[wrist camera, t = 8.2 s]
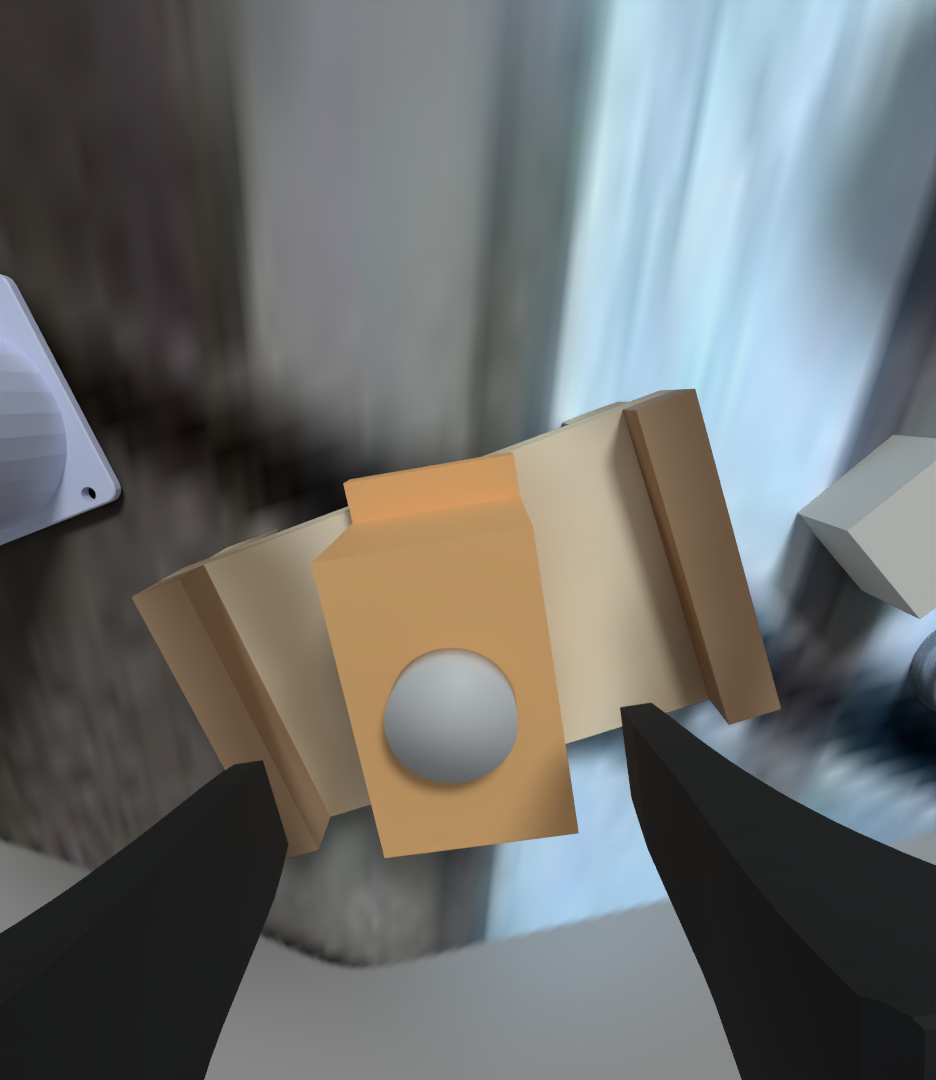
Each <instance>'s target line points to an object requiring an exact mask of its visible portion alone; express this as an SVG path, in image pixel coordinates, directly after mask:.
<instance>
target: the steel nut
mask: <svg viewBox="0 0 936 1080" xmlns="http://www.w3.org/2000/svg"><path fill="white" fill-rule="evenodd" d="M910 681H911V686H912V688H913V691H914V693H915V694H916V696H917V697H918V698H919V700H920V701H921V702H922V703H924V704H925V705H926V706H928V707H929V708H931V709H932V710H933V711H935V712H936V631H934V632H933V633H932V634H930V635H929V636H928V637H927V638H926V639H925V640H924V641H923V643H922V644H921V645H920V647H919V648H918V650H917V651H916V653H915V655H914V658H913V660H912V663H911V668H910Z"/></svg>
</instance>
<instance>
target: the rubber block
mask: <svg viewBox="0 0 936 1080" xmlns="http://www.w3.org/2000/svg"><path fill="white" fill-rule="evenodd" d="M797 514H798V515H799V516H800V517H801V519H802V520H803V521H804V522H805V523H806V525H807V526H808V527H809V528H810V529H811V531H812V532H813V533H814V534H815V535H816V536H817V538H818V539H819V540H820V541H821V542H822V544H823V545H824V546H825V547H826V548H827V550H828V551H829V552H830V553H831V554H832V556H833V557H834V558H835V559H836V560H837V562H838V563H839V564H840V565H841V566H842V568H843V569H844V570H845V571H846V572H847V574H848V575H849V576H850V577H851V578H852V580H853V581H854V582H855V583H856V584H857V586H858V587H859V588H860V589H861V590H862V591H864V592H866V593H868V594H870V595H872V596H874V597H876V598H878V599H880V600H882V601H884V602H886V603H888V604H890V605H892V606H894V607H896V608H898V609H900V610H902V611H904V612H906V613H908V614H910V615H912V616H915V617H917V618H919V619H921V618H922V617H924V616H925V615H927V614H928V613H929V612H931V611H932V610H933V609H935V608H936V439H935V438H923V437H910V436H898V435H893V436H891V437H890V438H889V439H888V440H886V441H885V442H884V443H883V444H881V445H880V446H879V447H878V448H877V449H875V450H874V451H873V452H872V453H870V454H869V455H868V456H867V457H866V458H864V459H863V460H862V461H861V462H859V463H858V464H857V465H856V466H854V467H853V468H852V469H851V470H850V471H848V472H847V473H846V474H845V475H843V476H842V477H841V478H840V479H838V480H837V481H836V482H835V483H834V484H832V485H831V486H830V487H829V488H827V489H826V490H825V491H824V492H822V493H821V494H820V495H819V496H818V497H816V498H815V499H814V500H813V501H811V502H810V503H809V504H808V505H806V506H805V507H804V508H803V509H802V510H800V511H799V512H798V513H797Z"/></svg>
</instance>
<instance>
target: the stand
mask: <svg viewBox="0 0 936 1080" xmlns="http://www.w3.org/2000/svg"><path fill="white" fill-rule="evenodd" d="M508 452H513V454H514V460H515V466H516V473H517V479H518V486H519V493H520V497H521V499H522V502H523V504H524V506H525V509H526V511H527V514H528V516H529V518H530V521H531V523H532V526H533V530H534V536H535V543H536V550H537V557H538V563H539V570H540V577H541V583H542V590H543V597H544V604H545V610H546V617H547V624H548V630H549V637H550V644H551V651H552V657H553V664H554V671H555V678H556V684H557V691H558V698H559V704H560V711H561V718H562V725H563V731H564V738H565V744H567V743H571V742H574V741H577V740H580V739H584V738H587V737H590V736H593V735H596V734H600V733H603V732H606V731H609V730H613V729H616V728H619V727H622V720H621V712H620V707H625V706H631V705H638V704H645V703H653V704H654V705H655V706H657V707H658V708H659V709H661V710H662V711H663V712H665V713H667V712H671V711H674V710H677V709H680V708H684V707H687V706H690V705H693V704H696V703H700V702H703V701H706V700H709V699H710V701H711V702H712V703H713V705H714V706H715V707H716V709H717V710H718V711H719V713H720V714H721V715H722V716H723V718H724V719H725V720H726V722H727V723H728V724H729V725H730V724H733V723H736V722H740V721H743V720H746V719H750V718H753V717H756V716H759V715H763V714H766V713H769V712H773V711H776V710H779V709H781V707H780V704H779V700H778V696H777V693H776V689H775V685H774V681H773V678H772V674H771V670H770V666H769V663H768V659H767V655H766V652H765V648H764V644H763V640H762V637H761V633H760V629H759V625H758V622H757V618H756V614H755V611H754V607H753V603H752V599H751V596H750V592H749V588H748V584H747V581H746V577H745V573H744V570H743V566H742V562H741V558H740V555H739V551H738V547H737V543H736V540H735V536H734V532H733V528H732V525H731V521H730V517H729V514H728V510H727V506H726V502H725V499H724V495H723V491H722V487H721V484H720V480H719V476H718V473H717V469H716V465H715V461H714V458H713V454H712V450H711V446H710V443H709V439H708V435H707V432H706V428H705V424H704V420H703V417H702V413H701V409H700V405H699V402H698V398H697V394H696V390H695V389H682V390H662V391H657V392H655V393H652V394H649V395H647V396H644V397H641V398H639V399H636V400H633V401H631V402H616V403H614V404H611V405H608V406H605V407H603V408H600V409H597V410H595V411H592V412H589V413H587V414H584V415H581V416H579V417H576V418H573V419H571V420H568V421H565V422H563V427H561V428H558V429H555V430H553V431H550V432H547V433H544V434H542V435H539V436H536V437H534V438H531V439H528V440H526V441H523V442H520V443H518V444H515V445H512V446H509V447H507V448H504V449H501V450H499V451H496V452H493V453H491V454H488V455H485V456H490V455H496V454H502V453H508ZM483 457H484V456H483ZM351 524H352V519H351V514H350V510H349V506H348V507H345V508H343V509H340V510H337V511H335V512H332V513H329V514H327V515H324V516H321V517H318V518H316V519H313V520H310V521H308V522H305V523H302V524H300V525H297V526H294V527H292V528H289V529H286V530H284V531H281V532H278V531H277V529H275V530H273V531H270V532H267V533H265V534H262V535H259V536H256V537H254V538H251V539H248V540H246V541H243V542H240V543H238V544H235V545H232V546H230V547H227V548H226V549H224V550H222V551H221V552H219V553H217V554H215V555H214V556H212V557H210V558H208V559H205V560H203V561H200V562H197V563H195V564H192V565H189V566H187V567H184V568H182V569H180V570H179V571H177V572H175V573H173V574H171V575H170V576H168V577H166V578H164V579H163V580H161V581H159V582H157V583H156V584H154V585H152V586H150V587H148V588H147V589H145V590H143V591H141V592H140V593H138V594H136V595H134V596H133V597H132V599H133V601H134V602H135V604H136V606H137V608H138V610H139V612H140V614H141V615H142V617H143V619H144V621H145V623H146V625H147V627H148V628H149V630H150V632H151V634H152V636H153V638H154V639H155V641H156V643H157V645H158V647H159V649H160V651H161V652H162V654H163V656H164V658H165V660H166V662H167V664H168V665H169V667H170V669H171V671H172V673H173V675H174V676H175V678H176V680H177V682H178V684H179V686H180V688H181V689H182V691H183V693H184V695H185V697H186V699H187V701H188V702H189V704H190V706H191V708H192V710H193V712H194V713H195V715H196V717H197V719H198V721H199V723H200V725H201V726H202V728H203V730H204V732H205V734H206V736H207V737H208V739H209V741H210V743H211V745H212V747H213V749H214V750H215V752H216V754H217V756H218V758H219V760H220V762H221V763H222V765H223V767H224V769H225V770H226V769H228V768H229V767H231V766H232V765H234V764H240V763H247V762H253V761H260V760H263V762H264V765H265V769H266V772H267V775H268V778H269V782H270V785H271V788H272V792H273V795H274V798H275V801H276V805H277V808H278V811H279V815H280V818H281V821H282V824H283V828H284V831H285V834H286V838H287V841H288V844H289V845H288V849H287V853H286V857H285V860H286V859H289V858H293V857H296V856H299V855H303V854H306V853H309V852H312V851H316V850H319V848H320V845H321V842H322V839H323V836H324V834H325V831H326V828H327V825H328V822H329V820H330V817H332V816H335V815H338V814H342V813H345V812H348V811H351V810H355V809H358V808H361V807H364V806H368V805H371V802H370V798H369V794H368V790H367V786H366V782H365V778H364V774H363V770H362V766H361V762H360V758H359V754H358V750H357V746H356V742H355V738H354V734H353V730H352V726H351V722H350V718H349V713H348V709H347V705H346V701H345V697H344V693H343V689H342V685H341V681H340V677H339V673H338V669H337V665H336V661H335V657H334V653H333V649H332V645H331V641H330V637H329V633H328V629H327V625H326V621H325V617H324V613H323V609H322V605H321V601H320V597H319V593H318V589H317V585H316V581H315V577H314V573H313V569H312V565H311V563H312V562H313V561H314V560H315V559H316V558H317V557H318V556H319V555H320V554H321V553H322V552H323V551H324V550H325V549H326V548H327V547H328V546H329V545H330V544H331V543H333V542H334V541H335V540H336V539H337V538H338V537H339V536H340V535H341V534H342V533H343V532H344V531H345V530H346V529H347V528H348V527H349V526H350V525H351Z"/></svg>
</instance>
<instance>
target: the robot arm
mask: <svg viewBox="0 0 936 1080" xmlns="http://www.w3.org/2000/svg"><path fill="white" fill-rule="evenodd" d="M89 488H92V489H93V490H94V491H95V493H96V498H95V499H93V498H92V497H91V496H90V495H89ZM120 494H121V487H120V484H119V482H118V480H117V478H116V476H115V474H114V472H113V470H112V468H111V466H110V464H109V462H108V460H107V458H106V457H105V455H104V453H103V451H102V449H101V447H100V445H99V443H98V441H97V439H96V437H95V435H94V433H93V432H92V430H91V428H90V426H89V424H88V422H87V420H86V418H85V416H84V414H83V412H82V410H81V408H80V407H79V405H78V403H77V401H76V399H75V397H74V395H73V393H72V391H71V389H70V387H69V385H68V383H67V382H66V380H65V378H64V376H63V374H62V372H61V370H60V368H59V366H58V364H57V362H56V360H55V358H54V357H53V355H52V353H51V351H50V349H49V347H48V345H47V343H46V341H45V339H44V337H43V335H42V333H41V332H40V330H39V328H38V326H37V324H36V322H35V320H34V318H33V316H32V314H31V312H30V310H29V308H28V307H27V305H26V303H25V301H24V299H23V297H22V295H21V293H20V291H19V289H18V287H17V285H16V284H15V283H14V281H13V280H12V279H10V278H9V277H7V276H4V275H0V545H3V544H5V543H8V542H10V541H13V540H15V539H18V538H21V537H23V536H26V535H28V534H31V533H33V532H36V531H38V530H41V529H44V528H46V527H49V526H51V525H54V524H56V523H59V522H61V521H64V520H67V519H69V518H72V517H74V516H77V515H79V514H82V513H84V512H87V511H90V510H92V509H95V508H97V507H100V506H102V505H105V504H107V503H110V502H113V501H115V500H116V499H118V498H119V496H120ZM620 712H621V720H622V728H623V736H624V744H625V751H626V759H627V767H628V775H629V783H630V790H631V798H632V801H633V804H634V807H635V810H636V814H637V817H638V820H639V823H640V826H641V830H642V833H643V836H644V839H645V842H646V845H647V848H648V850H649V853H650V855H651V857H652V860H653V862H654V864H655V866H656V869H657V871H658V873H659V875H660V878H661V880H662V882H663V885H664V887H665V889H666V891H667V894H668V896H669V898H670V900H671V902H672V905H673V907H674V909H675V911H676V914H677V916H678V918H679V920H680V923H681V925H682V927H683V929H684V931H685V934H686V936H687V938H688V941H689V943H690V945H691V947H692V950H693V952H694V954H695V956H696V959H697V961H698V963H699V965H700V967H701V970H702V972H703V975H704V977H705V980H706V982H707V984H708V987H709V989H710V992H711V994H712V997H713V999H714V1002H715V1004H716V1007H717V1010H718V1013H719V1016H720V1019H721V1022H722V1024H723V1027H724V1030H725V1033H726V1036H727V1039H728V1042H729V1045H730V1047H731V1050H732V1053H733V1056H734V1059H735V1061H736V1065H737V1067H738V1070H739V1073H740V1076H741V1079H742V1080H936V865H933V864H931V863H928V862H926V861H923V860H921V859H918V858H916V857H913V856H911V855H908V854H905V853H903V852H901V851H899V850H896V849H894V848H892V847H890V846H887V845H885V844H883V843H880V842H878V841H876V840H874V839H871V838H869V837H867V836H864V835H862V834H860V833H858V832H855V831H853V830H851V829H849V828H847V827H845V826H843V825H841V824H839V823H837V822H835V821H833V820H830V819H829V818H827V817H825V816H823V815H821V814H819V813H817V812H815V811H813V810H811V809H810V808H808V807H806V806H804V805H802V804H800V803H798V802H796V801H794V800H792V799H791V798H789V797H787V796H785V795H784V794H782V793H780V792H778V791H777V790H775V789H773V788H772V787H770V786H768V785H767V784H765V783H764V782H762V781H760V780H759V779H757V778H755V777H754V776H752V775H751V774H749V773H747V772H746V771H744V770H743V769H741V768H740V767H738V766H737V765H735V764H734V763H732V762H731V761H729V760H728V759H726V758H725V757H723V756H722V755H721V754H719V753H718V752H716V751H715V750H713V749H712V748H711V747H709V746H708V745H707V744H705V743H704V742H702V741H701V740H700V739H698V738H697V737H696V736H694V735H693V734H692V733H690V732H689V731H688V730H687V729H685V728H684V727H683V726H681V725H680V724H679V723H677V722H676V721H675V720H674V719H672V718H671V717H670V716H669V715H667V714H666V713H665V712H663V711H662V710H661V709H659V708H658V707H657V706H655V705H654V704H653V703H645V704H638V705H631V706H625V707H620ZM288 845H289V844H288V841H287V838H286V834H285V831H284V828H283V824H282V821H281V818H280V815H279V811H278V808H277V805H276V801H275V798H274V795H273V792H272V788H271V785H270V782H269V778H268V775H267V772H266V769H265V765H264V762H263V760H260V761H253V762H247V763H240V764H234V765H232V766H231V767H229V768H228V769H226V770H225V771H223V772H222V773H220V774H219V775H218V776H216V777H215V778H214V779H212V780H211V781H210V782H208V783H207V784H206V785H204V786H203V787H202V788H201V789H199V790H198V791H197V792H195V793H194V794H193V795H192V796H190V797H189V798H188V799H187V800H185V801H184V802H183V803H181V804H180V805H179V806H178V807H176V808H175V809H174V810H173V811H171V812H170V813H169V814H168V815H166V816H165V817H164V818H162V819H161V820H160V821H159V822H157V823H156V824H155V825H154V826H152V827H151V828H150V829H149V830H147V831H146V832H145V833H144V834H142V835H141V836H140V837H138V838H137V839H136V840H134V841H133V842H132V843H130V844H129V845H128V846H126V847H125V848H124V849H122V850H121V851H120V852H118V853H117V854H116V855H114V856H113V857H112V858H110V859H109V860H108V861H106V862H105V863H104V864H102V865H101V866H100V867H98V868H97V869H95V870H94V871H93V872H91V873H90V874H89V875H87V876H86V877H85V878H83V879H82V880H81V881H79V882H78V883H76V884H75V885H73V886H72V887H71V888H69V889H68V890H66V891H65V892H63V893H62V894H60V895H59V896H57V897H56V898H54V899H53V900H52V901H50V902H48V903H47V904H45V905H44V906H42V907H41V908H39V909H38V910H36V911H35V912H33V913H32V914H30V915H29V916H27V917H26V918H24V919H22V920H21V921H19V922H18V923H16V924H15V925H13V926H11V927H10V928H8V929H7V930H5V931H4V932H2V933H0V1080H204V1079H205V1075H206V1072H207V1069H208V1065H209V1063H210V1059H211V1057H212V1054H213V1051H214V1049H215V1046H216V1043H217V1040H218V1038H219V1035H220V1032H221V1030H222V1027H223V1024H224V1022H225V1019H226V1017H227V1015H228V1012H229V1009H230V1007H231V1005H232V1002H233V1000H234V997H235V995H236V993H237V990H238V988H239V985H240V982H241V980H242V978H243V975H244V973H245V970H246V968H247V966H248V963H249V961H250V958H251V956H252V953H253V951H254V948H255V946H256V944H257V941H258V939H259V936H260V933H261V931H262V928H263V926H264V923H265V921H266V918H267V916H268V913H269V911H270V908H271V906H272V903H273V900H274V898H275V894H276V891H277V887H278V884H279V880H280V877H281V873H282V869H283V865H284V861H285V857H286V853H287V849H288Z"/></svg>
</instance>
